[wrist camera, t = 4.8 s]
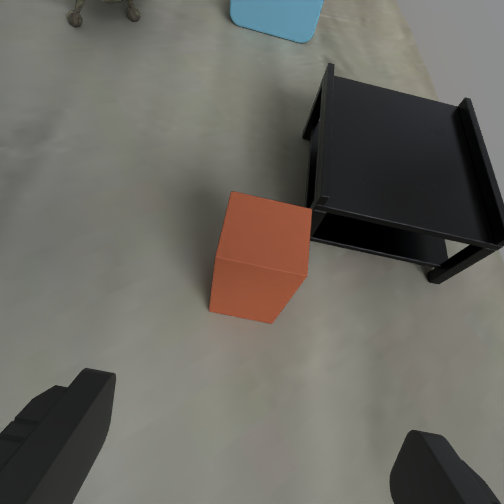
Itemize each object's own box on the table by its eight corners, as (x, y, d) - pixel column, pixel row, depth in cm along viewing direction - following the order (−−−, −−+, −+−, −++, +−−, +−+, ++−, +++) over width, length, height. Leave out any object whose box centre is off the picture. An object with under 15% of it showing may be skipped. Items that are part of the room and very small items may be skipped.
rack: (290, 252, 28) (321, 195, 21) (302, 132, 36) (328, 62, 29) (439, 284, 29) (515, 239, 22) (419, 160, 37) (470, 98, 30)
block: (208, 311, 24) (215, 256, 17) (220, 259, 27) (231, 190, 19) (271, 324, 25) (307, 276, 17) (278, 271, 27) (312, 208, 19)
